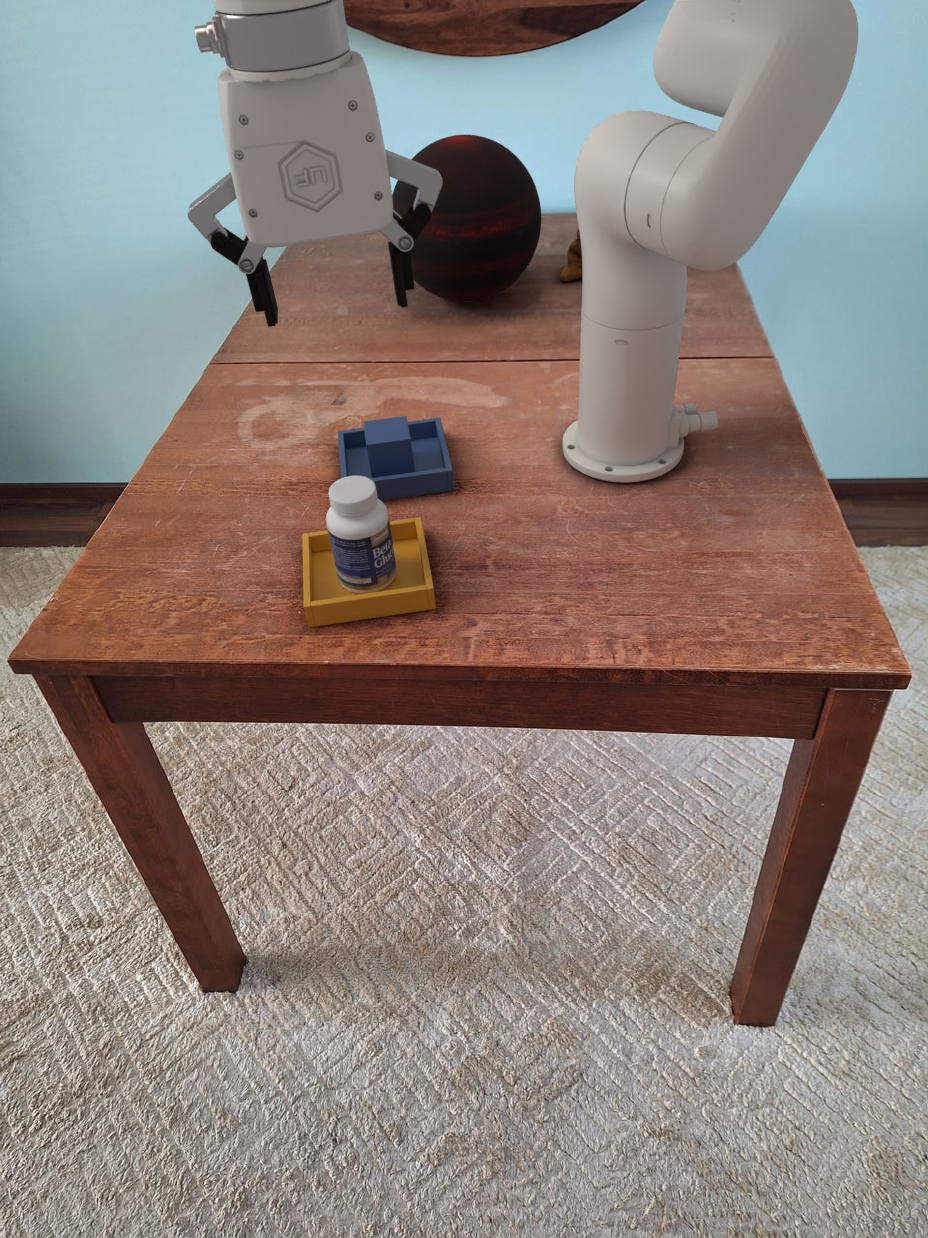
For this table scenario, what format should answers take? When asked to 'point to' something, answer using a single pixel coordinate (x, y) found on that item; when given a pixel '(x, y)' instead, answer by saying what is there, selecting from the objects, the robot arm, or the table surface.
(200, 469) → the table surface
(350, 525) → the pill bottle
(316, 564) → the mustard tray
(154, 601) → the table surface
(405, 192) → the decorative orb
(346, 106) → the robot arm
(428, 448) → the blue tray
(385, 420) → the blue block
